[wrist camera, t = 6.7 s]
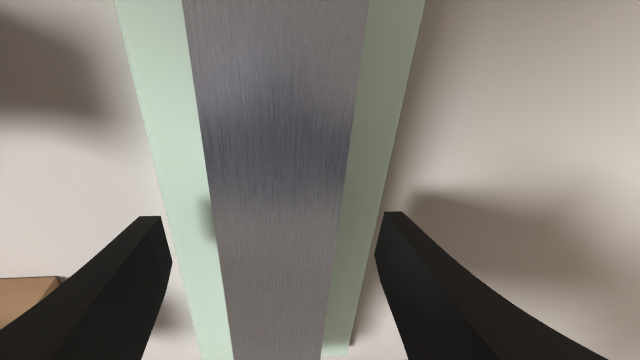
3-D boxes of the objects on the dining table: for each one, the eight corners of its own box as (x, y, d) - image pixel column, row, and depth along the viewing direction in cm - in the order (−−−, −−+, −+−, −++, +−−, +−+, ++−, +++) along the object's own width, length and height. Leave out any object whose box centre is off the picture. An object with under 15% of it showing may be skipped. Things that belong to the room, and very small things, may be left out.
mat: (344, 344, 19) (346, 354, 19) (205, 355, 18) (203, 366, 17) (436, -90, 8) (446, -94, 8) (93, -132, 7) (79, -140, 6)
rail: (246, 340, 17) (307, 335, 17) (241, 411, 14) (314, 404, 14) (199, -140, 7) (348, -121, 7) (151, -210, 4) (393, -173, 4)
